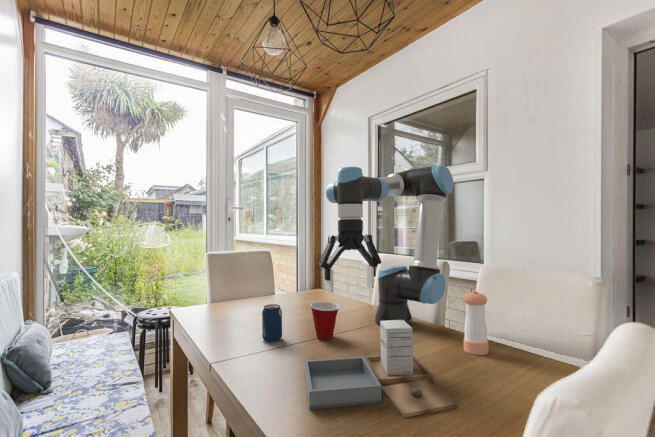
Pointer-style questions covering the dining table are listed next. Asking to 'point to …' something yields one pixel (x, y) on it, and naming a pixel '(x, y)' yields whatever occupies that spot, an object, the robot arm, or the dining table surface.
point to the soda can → (272, 323)
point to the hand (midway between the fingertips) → (351, 289)
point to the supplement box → (396, 347)
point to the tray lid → (417, 398)
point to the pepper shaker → (475, 324)
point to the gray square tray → (341, 383)
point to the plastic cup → (324, 319)
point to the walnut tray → (386, 380)
